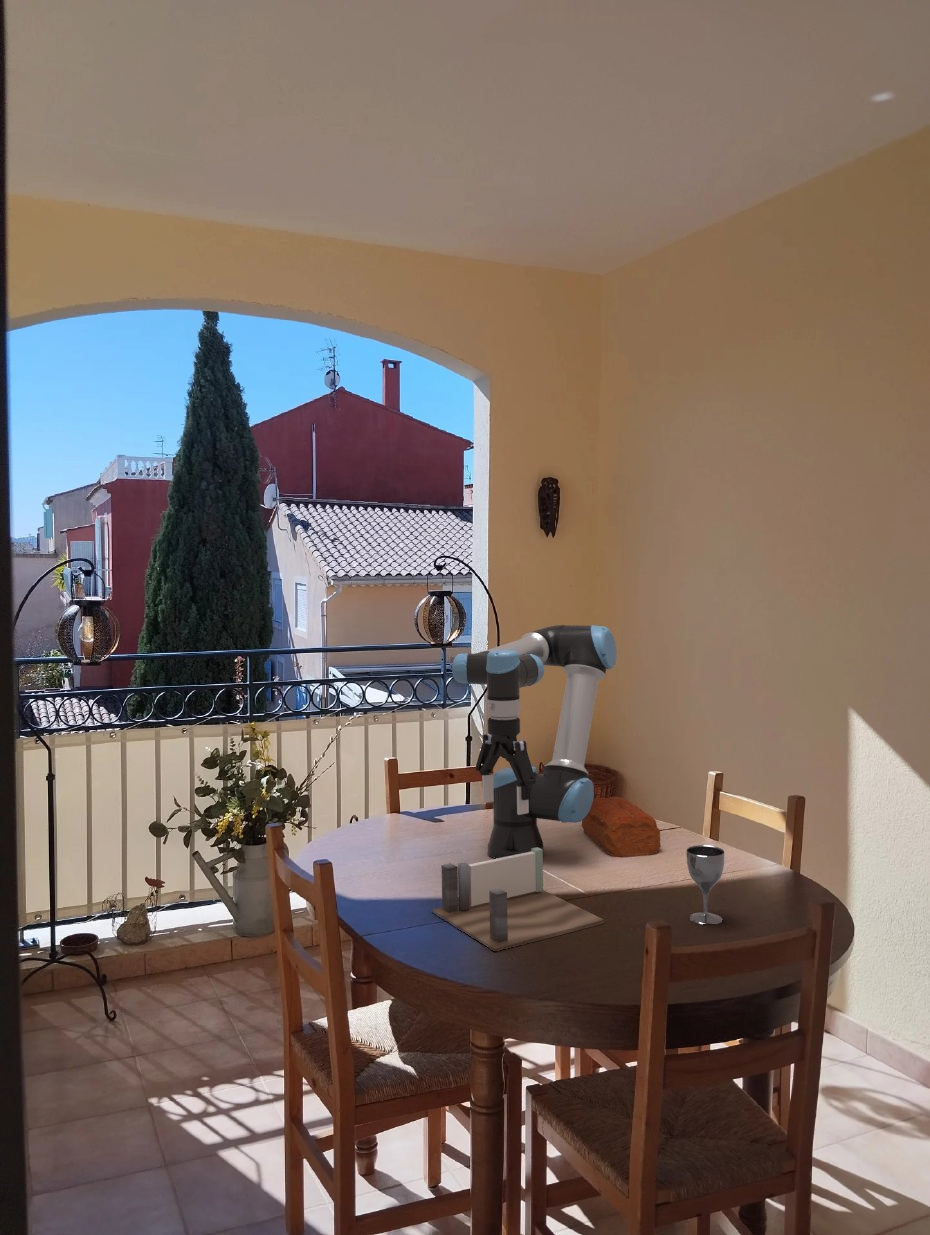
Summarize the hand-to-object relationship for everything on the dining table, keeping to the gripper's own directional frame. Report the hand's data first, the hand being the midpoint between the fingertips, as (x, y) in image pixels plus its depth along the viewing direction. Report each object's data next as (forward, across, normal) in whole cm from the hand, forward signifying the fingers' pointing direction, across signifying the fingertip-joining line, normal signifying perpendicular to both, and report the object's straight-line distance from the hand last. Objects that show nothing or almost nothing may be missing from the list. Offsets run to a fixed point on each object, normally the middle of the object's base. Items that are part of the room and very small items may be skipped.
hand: (505, 807), depth 222 cm
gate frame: (+21, +12, -6) cm, 25 cm away
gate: (+20, +3, -4) cm, 21 cm away
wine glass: (+21, +37, +26) cm, 50 cm away
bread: (+21, -16, +51) cm, 57 cm away
